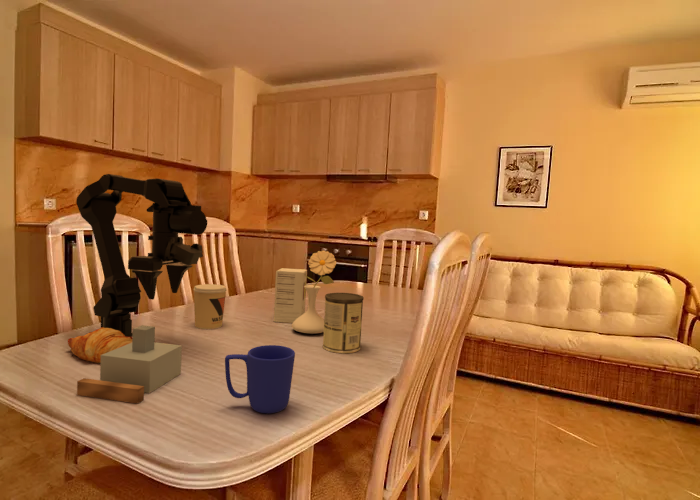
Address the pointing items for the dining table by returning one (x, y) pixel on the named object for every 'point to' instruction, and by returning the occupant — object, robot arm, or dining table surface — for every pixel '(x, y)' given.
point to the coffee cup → (209, 305)
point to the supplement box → (289, 294)
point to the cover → (142, 361)
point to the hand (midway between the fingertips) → (163, 296)
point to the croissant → (97, 343)
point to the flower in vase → (315, 293)
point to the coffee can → (342, 322)
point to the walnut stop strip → (110, 390)
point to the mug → (265, 377)
